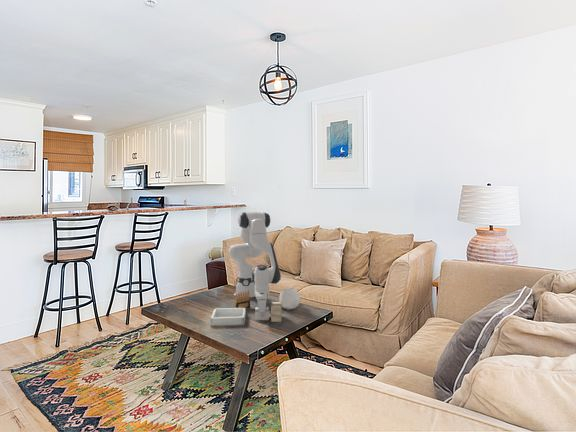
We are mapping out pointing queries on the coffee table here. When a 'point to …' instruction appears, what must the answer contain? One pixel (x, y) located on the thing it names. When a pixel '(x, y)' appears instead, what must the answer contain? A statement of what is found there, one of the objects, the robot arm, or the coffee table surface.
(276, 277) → the robot arm
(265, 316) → the teal-striped white carton
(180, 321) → the coffee table surface
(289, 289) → the geodesic sphere
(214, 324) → the tray
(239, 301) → the ammunition clip
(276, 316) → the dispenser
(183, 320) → the coffee table surface
